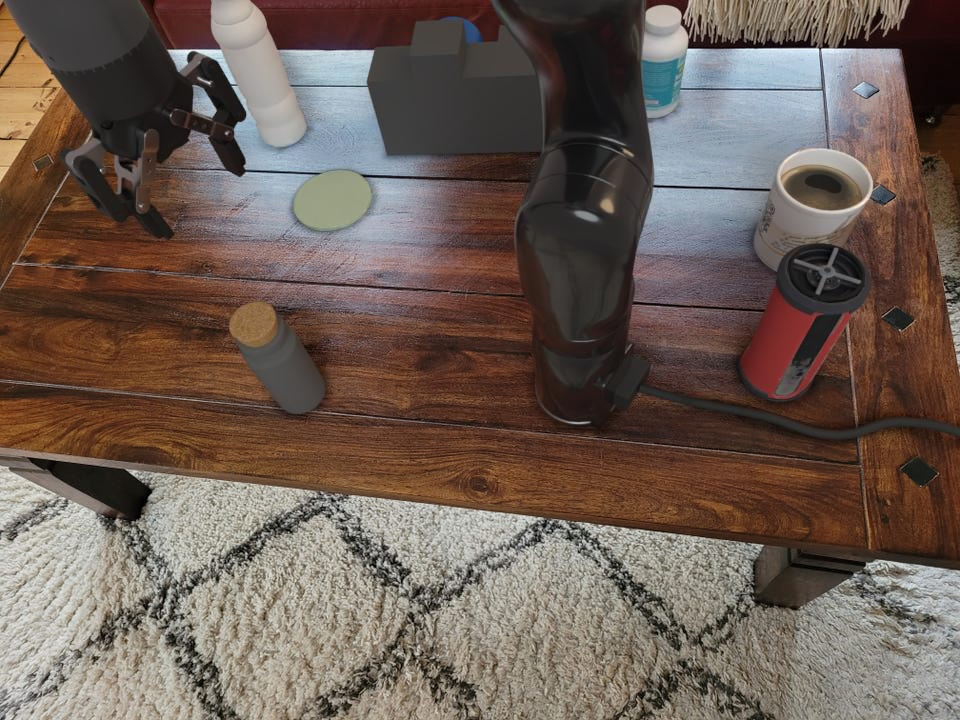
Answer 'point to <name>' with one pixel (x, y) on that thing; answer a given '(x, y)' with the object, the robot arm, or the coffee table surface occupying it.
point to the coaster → (332, 200)
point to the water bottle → (258, 70)
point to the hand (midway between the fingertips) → (202, 202)
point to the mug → (812, 203)
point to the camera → (455, 93)
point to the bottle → (277, 357)
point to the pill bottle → (663, 59)
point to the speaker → (803, 319)
